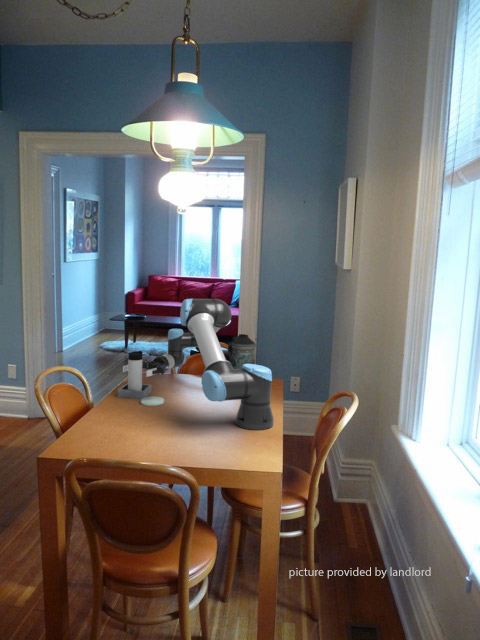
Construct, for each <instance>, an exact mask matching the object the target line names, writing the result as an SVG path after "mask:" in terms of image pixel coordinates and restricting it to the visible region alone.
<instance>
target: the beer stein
mask: <svg viewBox="0 0 480 640" xmlns="http://www.w3.org/2000/svg"><path fill="white" fill-rule="evenodd" d="M256 347H257V344H256V342H255V341H254V340H252V339H251V338H250V337H249V335H248V334H245V333H243V334H242V333H241V334H240V333H239V334H238V335H237V336H236V335H235V336H233V337H232V338H231V341H229V343H228V346H227V354H228V358H229V362H230V363H231V364H232V366H233V369H242V366H243V364H255V365H257V364H256V356H255V355H256V353H255V349H256Z"/></svg>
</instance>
